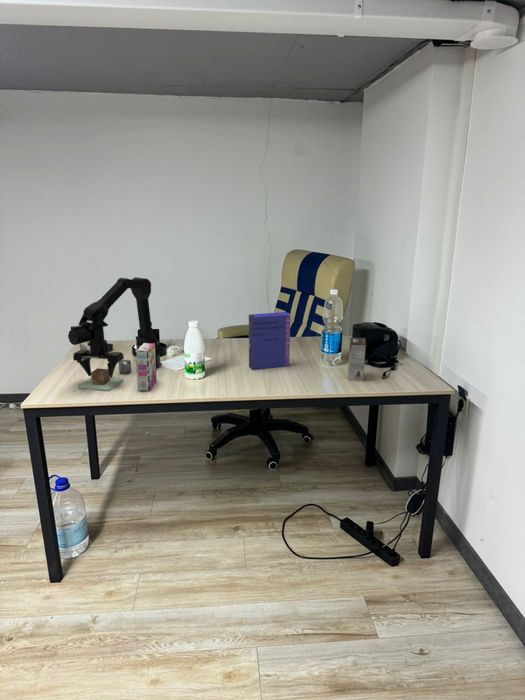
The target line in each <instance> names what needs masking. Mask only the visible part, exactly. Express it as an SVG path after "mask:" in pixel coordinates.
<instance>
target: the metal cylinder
mask: <svg viewBox="0 0 525 700" xmlns="http://www.w3.org/2000/svg"><path fill="white" fill-rule="evenodd" d="M132 371H133V370H132V363H131V360H130V359H123V360H121V361H120V362H118V372H119V375H122V376H123V375H130V374H132Z"/></svg>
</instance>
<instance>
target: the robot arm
mask: <svg viewBox="0 0 525 700" xmlns="http://www.w3.org/2000/svg"><path fill="white" fill-rule="evenodd" d="M128 289H130V290H131V291H130V292H131V294H132V295H133V297H134V298H135V299H136V308H137V309H136V310H137V316H138V317H137V318H138V323H139V324H138V325H139V333H138V334H137V336H135V343H136V346H137V349H138V348H139V347H140V346H141V345H142V344H143V343H155V357H156V369H158V368H159V367H161V366H162V365H161V364H163V363H162V362H161V356H160V355H161V354H163V351H164V349H163V347H162V346H160V345H159V344H158V341H157V340H158V339H157V337H156V335H155V333H154V332H153V328H152V321H151V320H152V319H151V312H150V311H151V309H150V303H149V302H150V301H149V298H150V296H151V293H152V282H151V281H150V279H148V278H145V277H133V278H132V279H131V278H127V277H125V278H124V277H119V278H118V279H117V280H116V282H115V283H114V284H113V285H112V287H110V288H109V290H108V291H106V292H105V293H104V295H102V297H101V298H100V299H98V300H96V301H95V302H92V303H91V304H89V305H87V306H86V307H85V308H84V309H83V311H82V312H83V314H82V316H81V318H80V320H79V322H78V325H76V326H75V325H74V326H70V330H69V331H68V334H67V337H68V341H69V343H70V344H71V345H73V346H77V345H80V344H81V343H86V342H88V341H89V343H87V344H88V346H90V351H89V350H81V349H79V350H77V351H76V352H74V353H73V354H72V358H73V361H76V363H77V364H79V365H80V367H82V369H83V370H84V371H85V372H86V374H87V377H91V372H92V369H91V359H101V360H107V369H108V370H109V376H110V378H114V373H115V369H116V366H117V364H119V362H120V361H121V360H125V357H124V353H123V352H121V351H114V350H113V349H114V344H113V343H108V341H107V339H105V331H104V328H106V327H108V326H109V324H108V323H107V322H105V320H106V318H107V316H108V314H109V311H110V308H111V307H112V306H113V305H114V304H115V303H116V302H117V301H118V300H119V299H120V297H122V295H123V294H124V293H125V292H127V290H128ZM109 351H110V352H109Z"/></svg>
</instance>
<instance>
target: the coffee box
mask: <svg viewBox="0 0 525 700" xmlns="http://www.w3.org/2000/svg"><path fill="white" fill-rule="evenodd" d="M366 342H367V340H366V337H350V341H349V351H348V352H349V355H348V369H347V370H348V371H347V372H348V373H347V374H348V375H347V380H348V381H353V382H354V381H356V382H357V381H358V382H364V375H365V373H364V372H365V364H366V363H365V359H366V348H367V343H366Z"/></svg>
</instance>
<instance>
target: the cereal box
mask: <svg viewBox="0 0 525 700" xmlns="http://www.w3.org/2000/svg"><path fill="white" fill-rule="evenodd" d="M290 345H291V314H290V312H287V311H284V312H270V313H269V312H267V313H253V314H251V313H250V314H248V368H249V369H250V370H251V371H257V370H268V369H278V368H288V367H290V354H291V353H290V349H291V348H290Z"/></svg>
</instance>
